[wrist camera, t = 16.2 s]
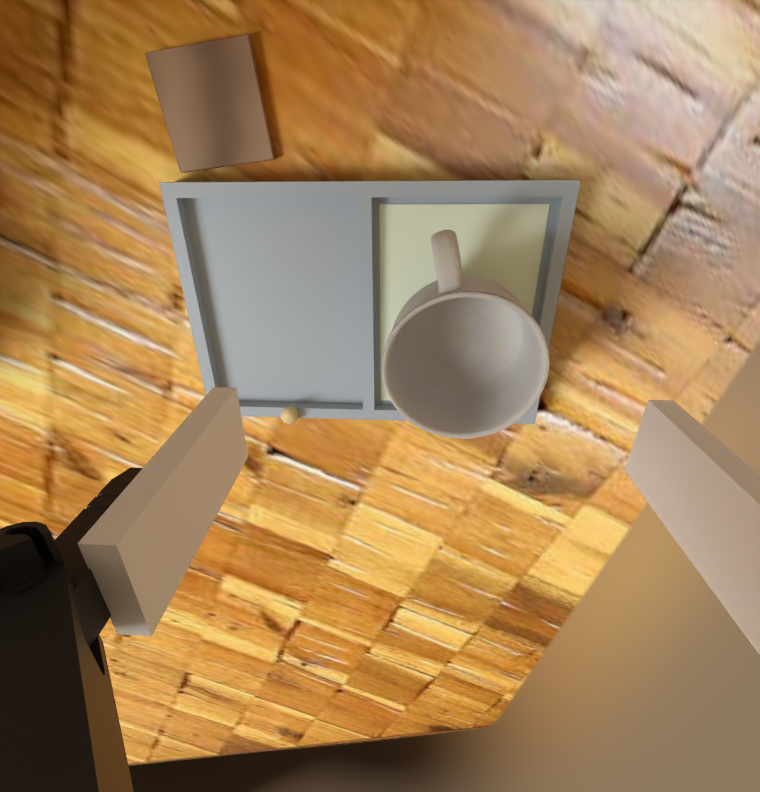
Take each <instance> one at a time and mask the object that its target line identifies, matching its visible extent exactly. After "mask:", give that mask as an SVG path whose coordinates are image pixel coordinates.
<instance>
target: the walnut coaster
mask: <svg viewBox="0 0 760 792" xmlns="http://www.w3.org/2000/svg"><path fill="white" fill-rule="evenodd" d="M145 54H146V58H147V61H148V65H149V68H150V71H151V75H152V78H153V81H154V85H155V88H156V92H157V95H158V98H159V102H160V105H161V108H162V112H163V115H164V119H165V122H166V125H167V129H168V132H169V135H170V139H171V142H172V146H173V149H174V152H175V156H176V159H177V162H178V166H179V169H180V172H191V171H198V170H205V169H212V168H219V167H225V166H232V165H239V164H246V163H253V162H260V161H266V160H273V159H275V154H274V149H273V144H272V139H271V134H270V130H269V125H268V120H267V115H266V110H265V105H264V100H263V95H262V91H261V86H260V81H259V76H258V71H257V66H256V61H255V56H254V52H253V47H252V42H251V37H250V36H248V35H243V36H237V37H231V38H226V39H220V40H215V41H209V42H204V43H198V44H192V45H187V46H181V47H176V48H170V49H164V50H159V51H153V52H148V53H145Z"/></svg>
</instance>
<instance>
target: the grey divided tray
mask: <svg viewBox="0 0 760 792" xmlns="http://www.w3.org/2000/svg"><path fill="white" fill-rule="evenodd" d="M580 181H581V180H413V181H231V182H161V183H159V184H160V188H161V193H162V198H163V202H164V207H165V211H166V216H167V220H168V225H169V229H170V234H171V239H172V243H173V248H174V252H175V257H176V261H177V266H178V270H179V275H180V279H181V284H182V289H183V293H184V298H185V302H186V307H187V311H188V316H189V320H190V325H191V330H192V334H193V339H194V343H195V348H196V352H197V357H198V361H199V366H200V370H201V375H202V380H203V384H204V389H205V393H206V395H207V394H208V393H209V392H210V390H211V389H212V388H213V387H228V388H237V394H238V400H239V406H240V412H241V416H255V417H281V419H282V421H283V422H285V423H287V424H293V423H294V422H295V421H296V420H297V418H328V419H365V420H402V421H408V420H407V419H406V418H405V417H403V416H402V415H401V413H400V412H399V411H398V410H397V409H396V408H395V407H394V405H393V404H392V402H391V400H390V398H389V397H388V394H387V392H386V390H385V387H384V384H383V378H382V359H383V351H384V348H385V345H386V342H387V340H388V338H389V335H390V333H391V331H392V328H393V325H394V323H395V320H396V318H397V316H398V314H399V312H400V311H401V309H402V308H403V306H404V305H405V303H406V302H407V301H408V300H409V299H410V298H411V297H412V296H413V295H414V294H415V293H416V292H418V291H419V290H420V289H421V288H423V287H425V286H426V285H428V284H430V283H432V282H434V281H436V280H437V275H436V269H435V262H434V257H433V252H432V245H431V237H432V235H433V234H435V233H436V232H439V231H442V230H452V231H454V232H455V233H456V236H457V241H458V246H459V252H460V259H461V267H462V275H473V276H479V277H483V278H487V279H489V280H492V281H494V282H497V283H498V284H500V285H502V286H503V287H505V288H506V289H508V290H509V291H510V292H511V293H512V294H514V295H515V296H516V297H517V299H518V300H519V301H520V302H521V303H522V304H523V306H524V307H525V308H526V310H527V311H528V313H529V314H530V315H531V316H532V317H533V318H534V319H535V320H536V321H537V323H538V324H539V326H540V328H541V330H542V332H543V334H544V336H545V338H546V341H547V346H548V349H549V346H550V340H551V335H552V330H553V324H554V319H555V314H556V308H557V303H558V298H559V293H560V287H561V282H562V277H563V271H564V266H565V261H566V256H567V250H568V245H569V240H570V234H571V229H572V224H573V218H574V213H575V208H576V203H577V197H578V192H579V187H580ZM539 398H540V397H539ZM538 404H539V399H538V400H537V402H536V403H535V404H534V406H533V407H532V408H531V409H530V410H529V411H528V412H527V413H526V414H525V416H523V417H522V418H521V419H520V420H518V421H517V422H515V423H514V424H535V420H536V414H537V409H538Z"/></svg>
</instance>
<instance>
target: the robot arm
mask: <svg viewBox="0 0 760 792" xmlns="http://www.w3.org/2000/svg"><path fill="white" fill-rule="evenodd" d="M247 458H248V454H247V448H246V442H245V436H244V430H243V424H242V418H241V412H240V406H239V400H238V394H237V388H228V387H213V388H212V389H211V390H210V392H209V393H208V394H207V395H206V396H205V397H204V398H203V400H202V401H201V402H200V403H199V404H198V405H197V407H196V408H195V409H194V410H193V411H192V412H191V413H190V415H189V416H188V417H187V418H186V419H185V420H184V422H183V423H182V424H181V425H180V426H179V427H178V428H177V430H176V431H175V432H174V433H173V434H172V435H171V436H170V438H169V439H168V440H167V441H166V442H165V443H164V445H163V446H162V447H161V448H160V449H159V450H158V451H157V453H156V454H155V455H154V456H153V457H152V458H151V460H150V461H149V462H148V463H147V464H146V465H145V466H144V468H129V469H128V470H126V471H125V472H123V473H121V474H120V475H118V476H117V477H115V478H114V479H112V480H111V481H110V482H109V483H108V484H107V485H106V486H105V487H104V488H103V489H102V490H101V492H100V493H99V494H98V497H95V498H94V499H93V500H92V501H91V502H90V503H89V504H88V505H87V509H84V510H83V511H82V512H81V513H80V514H79V515H78V516H77V517H76V518H75V519H74V520H73V521H72V522H71V524H70V525H69V526H68V527H67V528H66V529H65V530H64V531H63V532H62V533H61V534H60V535H59V536H58V537H57V539H56V540H55V541H54V539H53V537H52V535H51V533H50V531H49V529H48V528H47V526H46V525H45V524H42V523H39V522H22V523H18V524H14V525H10V526H6V527H4V528H2V529H0V792H133V787H132V782H131V777H130V772H129V767H128V762H127V757H126V753H125V748H124V743H123V738H122V733H121V728H120V723H119V718H118V713H117V709H116V704H115V699H114V694H113V689H112V684H111V679H110V674H109V670H108V665H107V660H106V655H105V650H104V645H103V642H102V640H101V637H100V635H99V633H100V632H101V630H102V629H103V627H104V626H105V624H106V623H107V621H108V620H109V618H111V620H112V623H113V625H114V627H115V629H116V632H117V634H124V635H143V636H152V634H153V632H154V631H155V629H156V627H157V625H158V623H159V621H160V619H161V618H162V616H163V614H164V612H165V610H166V608H167V606H168V605H169V603H170V601H171V599H172V597H173V595H174V593H175V592H176V590H177V588H178V586H179V584H180V582H181V580H182V579H183V577H184V575H185V573H186V571H187V569H188V567H189V566H190V564H191V562H192V560H193V558H194V556H195V554H196V553H197V551H198V549H199V547H200V545H201V543H202V541H203V540H204V538H205V536H206V534H207V532H208V530H209V528H210V527H211V525H212V523H213V521H214V519H215V517H216V515H217V514H218V512H219V510H220V508H221V506H222V504H223V502H224V501H225V499H226V497H227V495H228V493H229V491H230V489H231V488H232V486H233V484H234V482H235V480H236V478H237V476H238V475H239V473H240V471H241V469H242V467H243V465H244V463H245V462H246V460H247ZM625 472H626V473H627V475H628V476H629V477H630V479H631V480H632V481H633V483H634V484H635V485H636V487H637V488H638V490H639V491H640V492H641V494H642V495H643V496H644V498H645V499H646V501H647V502H648V503H649V505H650V506H651V507H652V509H653V510H654V511H655V513H656V514H657V515H658V517H659V518H660V519H661V521H662V522H663V524H664V525H665V526H666V528H667V529H668V530H669V532H670V533H671V535H672V536H673V537H674V539H675V540H676V541H677V543H678V544H679V546H680V547H681V548H682V550H683V551H684V552H685V554H686V555H687V556H688V558H689V559H690V561H691V562H692V563H693V565H694V566H695V567H696V569H697V570H698V571H699V573H700V574H701V576H702V577H703V578H704V580H705V581H706V582H707V584H708V585H709V587H710V588H711V589H712V591H713V592H714V593H715V595H716V596H717V597H718V599H719V600H720V601H721V603H722V604H723V606H724V607H725V608H726V610H727V611H728V612H729V614H730V615H731V616H732V618H733V619H734V621H735V622H736V623H737V625H738V626H739V627H740V629H741V630H742V631H743V633H744V634H745V636H746V637H747V638H748V640H749V641H750V642H751V644H752V645H753V647H754V648H755V649H756V651H757V652H758V653H759V655H760V475H759V474H758V473H757V472H756V471H755V470H754V469H752V468H751V467H750V466H749V465H748V464H747V463H745V462H744V461H743V460H742V459H741V458H740V457H738V456H737V455H736V454H735V453H734V452H733V451H732V450H730V449H729V448H728V447H727V446H726V445H725V444H723V443H722V442H721V441H720V440H719V439H717V438H716V437H715V436H714V435H713V434H711V433H710V432H709V431H708V430H707V429H706V428H705V427H704V426H702V425H701V424H700V423H699V422H698V421H697V420H695V419H694V418H693V417H692V416H691V415H690V414H688V413H687V412H686V411H685V410H684V409H683V408H681V407H680V406H679V405H678V404H677V403H676V402H675V401H671V400H648V403H647V406H646V408H645V411H644V414H643V417H642V420H641V423H640V426H639V429H638V432H637V435H636V438H635V441H634V444H633V446H632V449H631V452H630V455H629V458H628V461H627V464H626V467H625Z"/></svg>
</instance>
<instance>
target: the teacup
mask: <svg viewBox="0 0 760 792" xmlns="http://www.w3.org/2000/svg"><path fill="white" fill-rule="evenodd" d="M431 245H432V252H433V257H434V262H435V269H436V275H437V280H436V281H434V282H432V283H430V284H428V285H426V286H425V287H423V288H421V289H420V290H419V291H418V292H416V293H415V294H414V295H413V296H412V297H411V298H410V299H409V300H408V301H407V302H406V303H405V305H404V306H403V308H402V309H401V311H400V312H399V314H398V316H397V318H396V320H395V323H394V325H393V328H392V331H391V333H390V335H389V338H388V340H387V342H386V345H385V348H384V351H383V359H382V378H383V384H384V387H385V390H386V392H387V394H388V397H389V398H390V400H391V402H392V404H393V405H394V407H395V408H396V409H397V410H398V411H399V412H400V413H401V415H402V416H403V417H405V418H406V419H407V420H408V421H409V422H411V423H412V424H414V425H415V426H417V427H419V428H420V429H422V430H424V431H427V432H430V433H433V434H436V435H440V436H444V437H450V438H465V439H473V438H475V437H482V436H486V435H490V434H494V433H496V432H498V431H501V430H503V429H506V428H508V427H509V426H511V425H513V424H514V423H515V422H517V421H518V420H520V419H521V418H522V417H523V416H525V414H526V413H527V412H528V411H529V410H530V409H531V408H532V407H533V406H534V404H535V403H536V402H537V400H538V399H539V397H540V395H541V394H542V392H543V390H544V387H545V384H546V382H547V378H548V375H549V367H550V355H549V349H548V346H547V341H546V338H545V336H544V334H543V332H542V330H541V328H540V326H539V324H538V323H537V321H536V320H535V319H534V318H533V317H532V316H531V315H530V314H529V313H528V311H527V310H526V308H525V307H524V306H523V304H522V303H521V302H520V301H519V300H518V299H517V297H516V296H515V295H514V294H512V293H511V292H510V291H509V290H508V289H506V288H505V287H503V286H502V285H500V284H498V283H497V282H494V281H492V280H489V279H487V278H483V277H479V276H473V275H462V267H461V259H460V252H459V246H458V241H457V236H456V233H455V232H454V231H452V230H442V231H439V232H436V233H435V234H433V235H432V237H431Z"/></svg>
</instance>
